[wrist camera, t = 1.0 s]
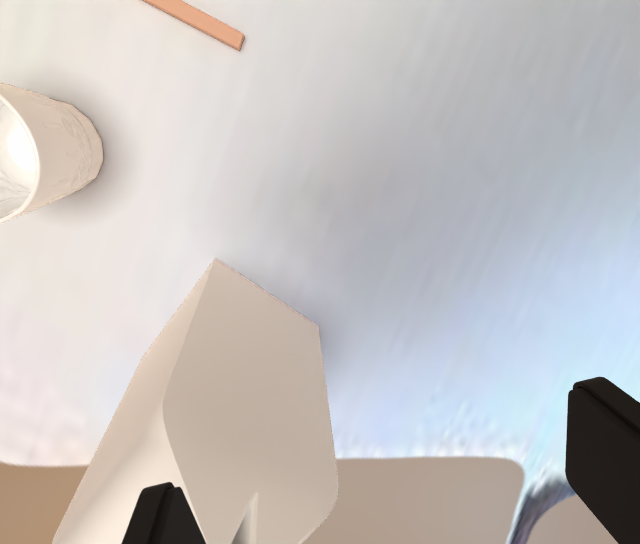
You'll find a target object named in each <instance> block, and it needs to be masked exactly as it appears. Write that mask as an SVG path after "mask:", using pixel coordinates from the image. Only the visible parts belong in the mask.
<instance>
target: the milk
mask: <svg viewBox="0 0 640 544" xmlns="http://www.w3.org/2000/svg"><path fill="white" fill-rule="evenodd" d="M166 482H171V483H172V484H173V485H174V487H181V489H182V490H183V493H184V495H185V497H186V499H187V502H188V504H189V506H190V508H191V511H192V513H193V515H194V517H195V520H196V522H197V524H198V526H199V528H200V531H201V533H202V535H203V537H204V540H205V542H206V544H303V543H304V542H305V540H306V539H307V538H308V537H309V536H310V535H311V534H312V533H313V532H314V531H315V530H316V529H317V528H318V527H319V526H320V525H321V524H322V523H323V522H324V521H325V520H326V518H327V517H328V515H329V513H330V512H331V510H332V508H333V507H334V505H335V503H336V500H337V497H338V493H339V492H338V491H339V488H338V487H339V485H338V474H337V467H336V458H335V451H334V443H333V435H332V428H331V420H330V412H329V404H328V397H327V389H326V381H325V374H324V366H323V358H322V351H321V343H320V335H319V328H318V325H316V324H315V323H313V322H312V321H310V320H309V319H307V318H306V317H304V316H303V315H301V314H300V313H298V312H297V311H295V310H294V309H292V308H291V307H289V306H288V305H286V304H285V303H283V302H282V301H280V300H279V299H277V298H276V297H274V296H272V295H271V294H269V293H268V292H266V291H265V290H263V289H262V288H260V287H259V286H257V285H256V284H254V283H253V282H251V281H250V280H248V279H247V278H245V277H244V276H242V275H241V274H239V273H238V272H236V271H235V270H233V269H232V268H230V267H229V266H227V265H226V264H224V263H222V262H221V261H219V260H218V259H216V258H215V259H214V260H213V262H212V263H211V264H210V266H209V267H208V268H207V270H206V271H205V273H204V274H203V275H202V277H201V278H200V279H199V281H198V282H197V283H196V285H195V286H194V288H193V289H192V290H191V292H190V293H189V294H188V296H187V297H186V298H185V300H184V301H183V303H182V304H181V305H180V307H179V308H178V309H177V311H176V312H175V313H174V315H173V316H172V318H171V319H170V320H169V322H168V323H167V324H166V326H165V327H164V328H163V330H162V331H161V333H160V334H159V335H158V337H157V338H156V339H155V341H154V342H153V343H152V345H151V346H150V348H149V349H148V350H147V352H146V353H145V354H144V356H143V357H142V359H141V361H140V363H139V365H138V367H137V370H136V372H135V374H134V376H133V378H132V380H131V382H130V384H129V386H128V388H127V390H126V392H125V394H124V396H123V398H122V400H121V402H120V404H119V406H118V408H117V410H116V412H115V414H114V416H113V418H112V420H111V422H110V424H109V426H108V428H107V430H106V432H105V434H104V436H103V438H102V440H101V442H100V444H99V446H98V448H97V451H96V453H95V455H94V457H93V459H92V461H91V463H90V465H89V467H88V469H87V471H86V473H85V475H84V477H83V479H82V481H81V483H80V485H79V487H78V489H77V491H76V493H75V495H74V497H73V499H72V501H71V503H70V505H69V507H68V509H67V511H66V513H65V515H64V517H63V519H62V521H61V524H60V526H59V528H58V530H57V532H56V534H55V536H54V539H53V542H52V544H122V541H123V538H124V535H125V533H126V530H127V527H128V525H129V522H130V519H131V517H132V514H133V511H134V509H135V506H136V503H137V501H138V498H139V495H140V493H141V491H142V490H143V489H144V488H146V487H150V486H154V485H158V484H162V483H166Z"/></svg>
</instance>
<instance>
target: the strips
mask: <svg viewBox="0 0 640 544" xmlns="http://www.w3.org/2000/svg"><path fill="white" fill-rule="evenodd" d="M143 1H145V2H147V3H148V4H150V5H152V6H154V7H156V8H158V9H160V10H162V11H164V12H166V13H168V14H170V15H171V16H173V17H175V18H177V19H179V20H181V21H183V22H185V23H187V24H189V25H191V26H192V27H194V28H196V29H198V30H200V31H202V32H204V33H206V34H208V35H210V36H212V37H214V38H215V39H217V40H219V41H221V42H223V43H225V44H227V45H229V46H231V47H233V48H235V49H237V50H238V51H240V48H241V45H242V43H243V40H244V34H243V33H241V32H239V31H237V30H235V29H233V28H232V27H230V26H228V25H226V24H224V23H222V22H220V21H218V20H217V19H215V18H213V17H211V16H209V15H207V14H205V13H204V12H202V11H200V10H198V9H196V8H194V7H192V6H190V5H189V4H187V3H185V2H183V1H181V0H143Z"/></svg>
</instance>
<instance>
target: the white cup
mask: <svg viewBox="0 0 640 544" xmlns="http://www.w3.org/2000/svg"><path fill="white" fill-rule="evenodd" d="M103 160H104V159H103V150H102V140H101V138H100V136H99V135H98V133H97V131H96V129H95V128H94V126H93V124H92V122H91V121H90V119H88V118H87V117H86V116H85V115H83V114H82V113H81V112H80V111H78V110H77V109H76V108H75V107H74V106H72V105H71V104H67V103H64V102H61V101H58V100H54V99H51V98H48V97H46V96H44V95H42V94H39V93H35V92H31V91H29V90H25V89H21V88H18V87H15V86H12V85H8V84H4V83H0V224H1V223H4V222H6V221H9V220H11V219H13V218H16V217H18V216H21V215H23V214H26V213H28V212H31V211H33V210H36V209H38V208H41V207H43V206H46V205H48V204H50V203H53V202H55V201H57V200H59V199H62V198H64V197H66V196H68V195H70V194H71V193H73V192H75V191H78V190H80V189H82V188H84V187H85V186H86V185H87V184H89V183H90V182H91V181H93V180H94V179H95V178H96V177H97V175H98V173H99V170H100V168H101V165H102V163H103Z"/></svg>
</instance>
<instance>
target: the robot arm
mask: <svg viewBox="0 0 640 544" xmlns="http://www.w3.org/2000/svg"><path fill="white" fill-rule="evenodd" d="M565 472H566V477H567V480H568V482H569V484H570V486H571V487H572V489H573V490H574V491H575V492H576V494H577V495H578V496H579V497H580V498H581V499H582V501H583V502H584V503H585V504H586V505H587V507H588V508H589V509H590V510H591V511H592V512H593V514H594V515H595V516H596V517H597V519H598V520H599V521H600V522H601V523H602V524H603V525H604V527H605V528H606V529H607V530H608V531H609V533H610V534H611V535H612V536H613V538H614V539H615V540H616V541H617V542H618V543H619V544H640V403H639V402H638V401H636V400H635V399H633V398H632V397H631V396H629V395H628V394H627V393H625V392H624V391H623V390H621V389H620V388H619V387H617V386H616V385H614V384H613V383H612V382H610V381H609V380H607V379H606V378H604V377H596V378H592V379H588V380H584V381H580V382H576V383H575V384H574V385H573V390H571V391H570V392H569V394H568V416H567V442H566V468H565ZM122 544H206V542H205V540H204V537H203V535H202V533H201V531H200V528H199V526H198V524H197V522H196V520H195V517H194V515H193V513H192V511H191V508H190V506H189V504H188V502H187V499H186V497H185V495H184V493H183V490H182V489H181V487H174V485H173V484H172V483H171V482H166V483H162V484H158V485H154V486H150V487H146V488H144V489H143V490H142V491H141V493H140V495H139V498H138V501H137V503H136V506H135V509H134V511H133V514H132V517H131V519H130V522H129V525H128V527H127V530H126V533H125V535H124V538H123V541H122Z"/></svg>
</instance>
